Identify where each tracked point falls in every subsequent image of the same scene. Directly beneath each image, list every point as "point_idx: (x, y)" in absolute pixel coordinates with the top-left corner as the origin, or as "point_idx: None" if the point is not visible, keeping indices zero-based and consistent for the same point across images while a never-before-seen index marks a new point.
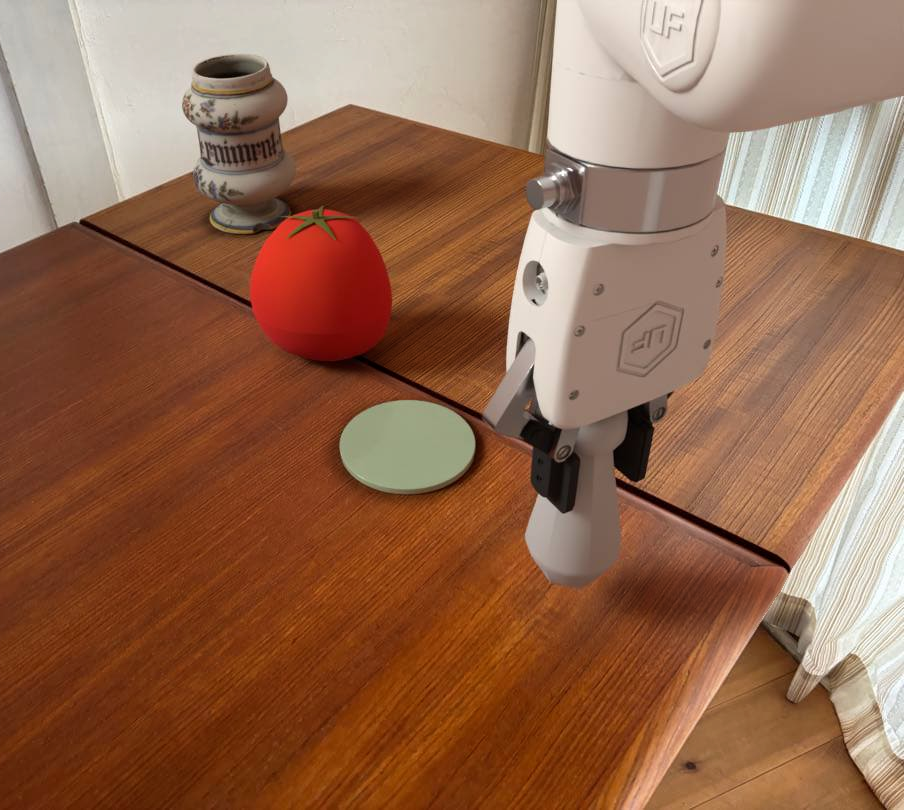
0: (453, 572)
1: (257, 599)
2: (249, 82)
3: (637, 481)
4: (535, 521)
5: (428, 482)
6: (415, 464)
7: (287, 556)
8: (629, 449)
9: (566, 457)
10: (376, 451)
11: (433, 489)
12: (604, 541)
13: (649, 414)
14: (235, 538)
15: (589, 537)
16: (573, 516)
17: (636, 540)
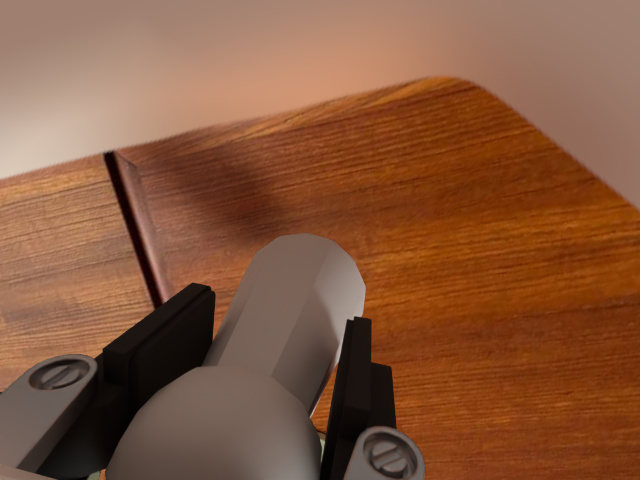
0: (381, 350)
1: (560, 450)
2: None
3: (208, 286)
4: None
5: (322, 445)
6: None
7: (499, 468)
8: (180, 342)
9: (378, 432)
10: None
11: (322, 435)
12: (300, 255)
13: (82, 389)
14: None
15: (321, 270)
16: (331, 309)
17: (204, 261)
